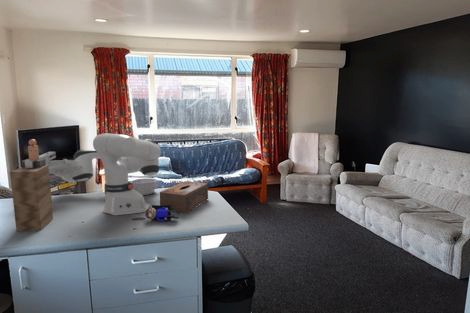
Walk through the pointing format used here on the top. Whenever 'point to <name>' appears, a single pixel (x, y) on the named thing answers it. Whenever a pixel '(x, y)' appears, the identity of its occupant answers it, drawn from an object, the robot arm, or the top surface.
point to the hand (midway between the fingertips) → (55, 160)
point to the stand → (32, 196)
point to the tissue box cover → (184, 196)
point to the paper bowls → (145, 185)
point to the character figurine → (160, 212)
